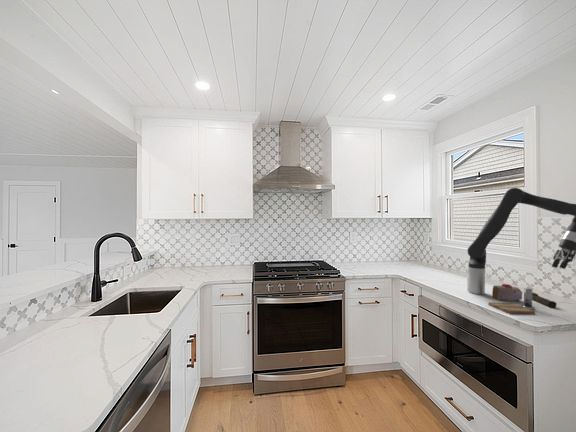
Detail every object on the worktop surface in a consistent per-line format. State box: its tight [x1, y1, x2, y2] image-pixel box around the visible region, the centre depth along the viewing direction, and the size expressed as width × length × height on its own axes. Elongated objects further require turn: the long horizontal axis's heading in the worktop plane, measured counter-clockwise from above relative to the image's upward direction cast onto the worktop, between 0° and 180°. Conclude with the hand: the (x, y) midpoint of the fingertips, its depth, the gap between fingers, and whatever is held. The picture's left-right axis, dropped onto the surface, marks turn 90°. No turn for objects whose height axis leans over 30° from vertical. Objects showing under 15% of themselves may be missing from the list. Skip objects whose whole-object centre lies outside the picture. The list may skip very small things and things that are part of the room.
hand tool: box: [532, 291, 557, 309], centre depth 157 cm, size 19×4×5 cm, turn 166°
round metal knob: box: [520, 287, 536, 311], centre depth 147 cm, size 6×6×11 cm
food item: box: [491, 283, 523, 302], centre depth 162 cm, size 14×8×10 cm, turn 83°
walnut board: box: [488, 301, 536, 315], centre depth 145 cm, size 14×14×2 cm
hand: (557, 267), depth 143 cm, fingers open, 8 cm apart
